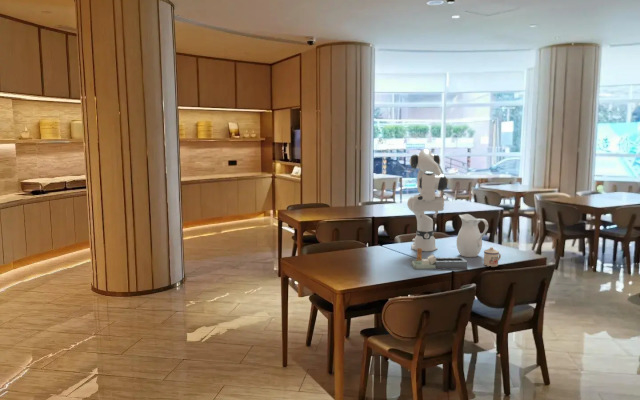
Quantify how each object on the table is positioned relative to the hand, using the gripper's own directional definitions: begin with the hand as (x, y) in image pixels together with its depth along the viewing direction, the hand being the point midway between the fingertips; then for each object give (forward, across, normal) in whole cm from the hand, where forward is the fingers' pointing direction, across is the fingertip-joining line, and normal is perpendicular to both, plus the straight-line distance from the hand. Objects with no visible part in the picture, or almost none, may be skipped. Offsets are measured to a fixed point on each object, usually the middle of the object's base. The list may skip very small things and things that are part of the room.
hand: (427, 217), depth 331 cm
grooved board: (+29, -11, +15) cm, 35 cm away
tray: (+29, +6, +15) cm, 33 cm away
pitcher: (+29, -34, -10) cm, 46 cm away
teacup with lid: (+29, -40, +12) cm, 51 cm away
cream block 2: (+26, -1, +15) cm, 30 cm away
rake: (+29, +6, +5) cm, 30 cm away
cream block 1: (+27, +2, +15) cm, 31 cm away
